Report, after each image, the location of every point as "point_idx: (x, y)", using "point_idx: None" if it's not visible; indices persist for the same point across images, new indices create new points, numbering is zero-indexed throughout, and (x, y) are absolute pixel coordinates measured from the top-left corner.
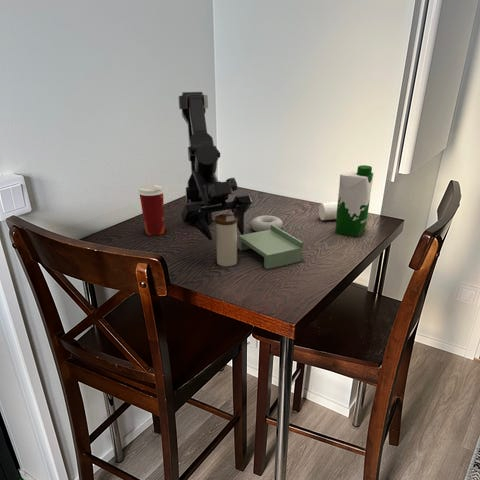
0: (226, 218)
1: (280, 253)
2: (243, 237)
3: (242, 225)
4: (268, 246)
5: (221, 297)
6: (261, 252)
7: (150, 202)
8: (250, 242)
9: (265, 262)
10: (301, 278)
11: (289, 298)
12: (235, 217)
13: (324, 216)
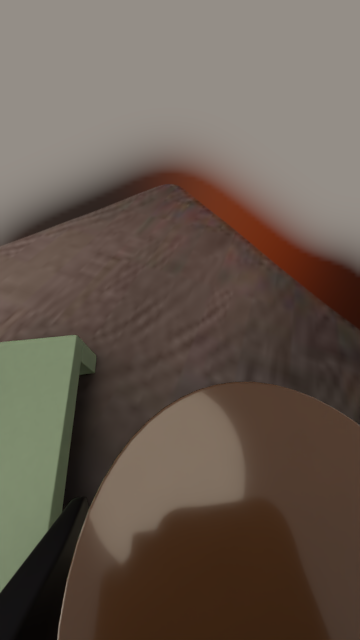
0: (278, 542)
1: (17, 342)
2: None
3: (29, 575)
4: (3, 421)
5: (265, 265)
6: (72, 380)
7: None
8: (39, 533)
9: (88, 357)
10: (54, 280)
11: (136, 227)
12: (115, 528)
13: None
